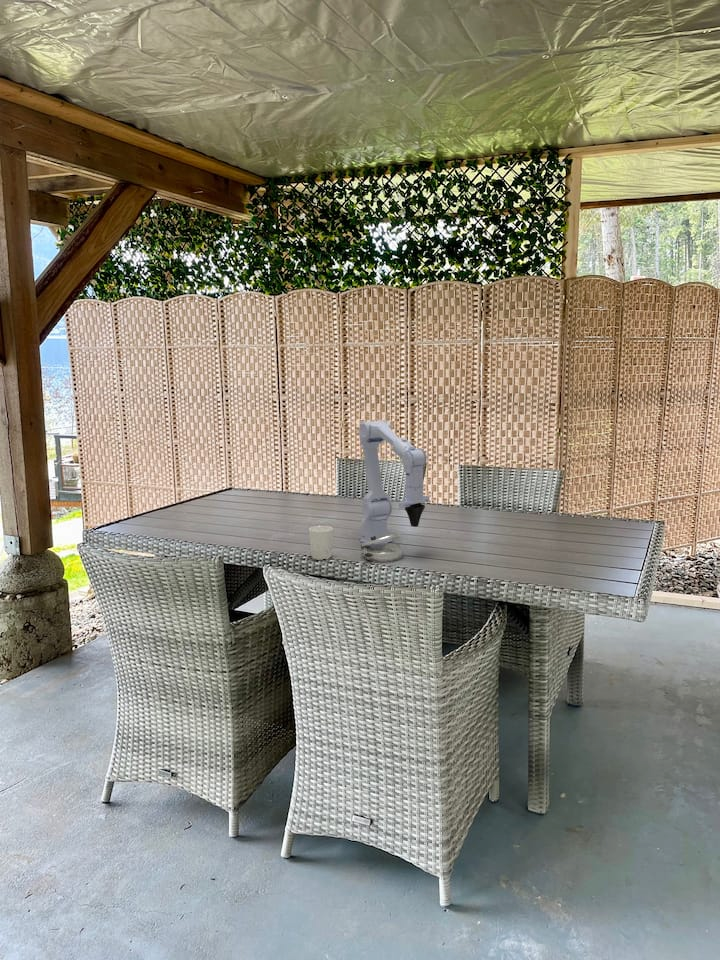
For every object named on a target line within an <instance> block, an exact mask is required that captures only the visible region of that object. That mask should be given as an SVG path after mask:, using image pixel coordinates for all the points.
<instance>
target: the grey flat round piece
mask: <svg viewBox="0 0 720 960" xmlns="http://www.w3.org/2000/svg"><path fill="white" fill-rule="evenodd" d="M360 550H363V552H362V553H363V559H364V558H365V559H367V560H366V561H368V560H370V561H369V562H372V561H376V562H375V563H388V562H387V561H392V562H396V561H395V560H397V561H400V560H401V559H402V558H403V547H402V546H401V545H400V544H397V543H390V542H388V543H377V544H371V545H367V546H363V547H362V543H360ZM365 559H364V560H365Z"/></svg>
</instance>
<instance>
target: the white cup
mask: <svg viewBox="0 0 720 960" xmlns="http://www.w3.org/2000/svg"><path fill="white" fill-rule="evenodd" d="M333 531H334V529H333V527H332V526H330V525H329V526H328V525H316V526H312V527H309V528H308V532H309V543H310V550H311V558H312V559H313V560H318V561H323V559H326V560H328V559H327V558H329V557H331V556H333V539H334V538H333V534H334V533H333ZM331 558H332V557H331ZM329 559H330V558H329Z"/></svg>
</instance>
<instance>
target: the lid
mask: <svg viewBox="0 0 720 960" xmlns="http://www.w3.org/2000/svg"><path fill="white" fill-rule="evenodd" d="M400 536H402V534H401V532H398V533H397V532H396V533H393V534H389V535H388V536H385V537H382V538H378V539H376V536H373V537H370V538H371V541H368V542H361V544H362V547H363V546H367V545H371V544H374V543H378V542H382V541H385V540H388V539H391V540H393V539H395V538H398V537H400Z"/></svg>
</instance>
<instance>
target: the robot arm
mask: <svg viewBox="0 0 720 960" xmlns="http://www.w3.org/2000/svg"><path fill="white" fill-rule="evenodd" d="M358 437H359V441H360V442H359V443H360V445H361V446H362V451H363V452H362V453H363V460H364V465H365V466H364V467H365V474H366V481H367V482H366V483H367V490H368V492H367V493H366V494H365V495H364V497H362V506H361V507H362V508H361V510H362V515H363V516H364V517H363V519H362V520H361V524H360V528H361V529H360V540H359V542H360V541H361V543H365V542H368V541H371V538H370V537H373V536H376V539H378V538H382V537H385V536H389V535H388V533H389V532H388V519H389V518H390V516H391V514H392V512H393V503H392V501H391V499H390V495H389V494H388V493H387V492H386V491H384V489H383V482H382V474H381V467H380V465H381V464H380V459H379V452H378V451H379V450H378V448H379V445H381V444H382V443H383V442H384V441H385V442H387V443H388V444H389V445H390V446H391V448H392V449H391V450H392V452H393V453H395V455H397V456H398V458H400V459H401V462H402V466H403V471H404V473H405V499H403V500H402V501H399V502H398V509H403V510H404V511H405V513H407V517H408V519H409V523H410V526H411V527H414V528H417V527H419V523H420V521H421V517H422V514H423V512H424V510H425V507H426V506H425V504H424V503H429V502H431V501H430V495H424V467H425V465H426V463H427V460H428V457H427V454H426V451H424V449H423V448H419V449H418V448H416V447H415V446H414V445H412V444H411V443H410V442H409V441H408V439H407V438H406V437H399V436H398V435H397V434H396V433H395V431H393V429H392V425H391V423H389V422H388V421H387V419H383V420H374V421H362V422H361V423H360V426H359V427H358ZM422 503H423V504H422ZM391 542H393V539H388V540H385V541H382V542H378V543H391ZM374 544H377V543H374Z"/></svg>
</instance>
